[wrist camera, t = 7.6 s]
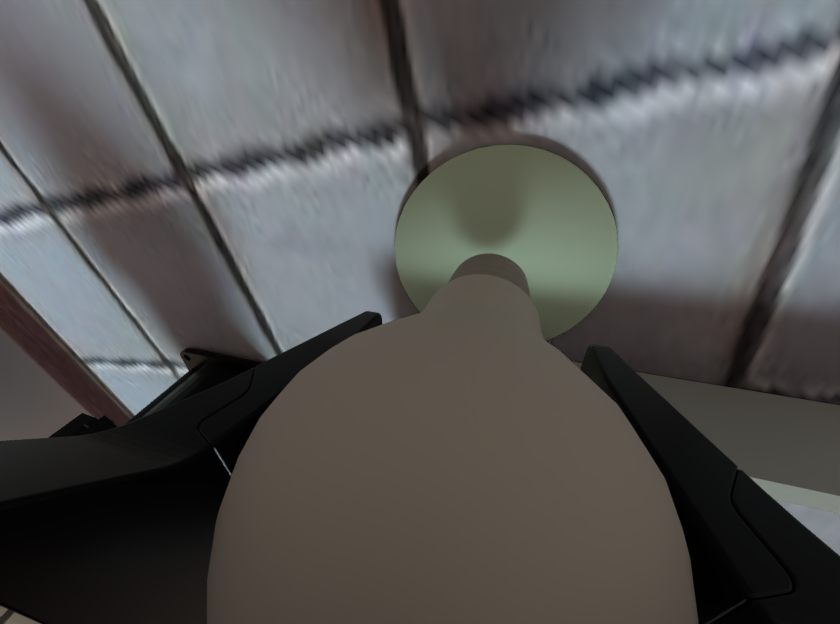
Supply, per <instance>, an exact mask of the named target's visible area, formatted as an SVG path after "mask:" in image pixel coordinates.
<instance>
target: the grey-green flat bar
mask: <svg viewBox="0 0 840 624" xmlns="http://www.w3.org/2000/svg"><path fill="white" fill-rule="evenodd" d="M571 362H572V363H573V364H575V365H576V366H577V367H578V368H579V369H580V368H581V365H582V363H579V362H573V361H571ZM636 373H638V374H639V375H640V376H641V377H642V378H643V379H644V380H645V381H646V382H647V383H648V384H649V385H651V386H652V387H653V388H654V389H655V390H656V391H657V392H658V393H659V394H660V395H661V396H662V397H663V398H665V399H666V400H667V401H668V402H669V403H670V404H671V405H672V406H673V407H674V408H675V409H676V410H678V411H679V412H680V413H681V414H682V415H683V416H684V417H685V418H686V419H687V420H688V421H689V422H690V423H692V424H693V425H694V426H695V427H696V428H697V429H698V430H699V431H700V432H701V433H702V434H703V435H705V436H706V437H707V438H708V439H709V440H710V441H711V442H712V443H713V444H714V445H715V446H716V447H718V448H719V449H720V450H721V451H722V452H723V453H724V454H725V455H726V456H727V457H728V458H729V459H730V460H732V461H733V462H734V463H735V464H736V465H737V467H738V469H740V470H743V471H744V472H745V473H746V474H747V475H748V476H749V477H750V478H751V479H752V480H753V481H754V482H756V483H757V484H758V485H759V486H760V487H761V488H762V489H763V490H764V491H765V492H766V493H768V494H769V495H770V496H771V497H772V498H773V499H775V500H779V501H784V502H788V503H793V504H797V505H801V506H806V507H810V508H815V509H819V510H824V511H828V512H833V513H837V514H840V405H835V404H829V403H823V402H817V401H811V400H805V399H799V398H792V397H786V396H780V395H774V394H768V393H762V392H756V391H750V390H744V389H737V388H731V387H725V386H719V385H713V384H707V383H701V382H695V381H689V380H682V379H676V378H670V377H664V376H658V375H652V374H646V373H640V372H636ZM738 469H737V470H738Z"/></svg>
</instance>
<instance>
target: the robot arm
mask: <svg viewBox="0 0 840 624" xmlns="http://www.w3.org/2000/svg"><path fill="white" fill-rule="evenodd" d="M379 325H382V317H381V315H380V314H379V313H376V312H370V311H366V312H364V313H362V314H360V315H358V316H356V317H354V318H352V319H350V320H348V321H346V322H344V323H341V324H339V325H337V326H335V327H333V328H331V329H329V330H327V331H325V332H323V333H321V334H319V335H317V336H315V337H313V338H311V339H309V340H307V341H305V342H303V343H301V344H299V345H297V346H295V347H293V348H291V349H289V350H287V351H285V352H283V353H281V354H279V355H277V356H275V357H273V358H271V359H269V360H267V361H265V362H263V363H259V362H254V361H249V360H244V359H239V358H235V357H230V356H225V355H220V354H215V353H210V352H206V351H201V350H196V349H191V348H186V349H185V350H184V351H182V352H181V353H180V355H181V357H182V359H183V361H184V363H185V364H186V366H187V368H188V370H189V372H187V373H186V374H185V375H184V376H183V377H181V378H180V379H179V380H178V381H177V382H175V383H174V384H173V385H172V386H170V387H169V388H168V389H167V390H166V391H164V392H163V393H162V394H161V395H160V396H158V397H157V398H156V399H155V400H154V401H152V402H151V403H150V404H149V405H147V406H146V407H145V408H144V409H143V410H141V411H140V412H139V413H138V414H137V415H135V416H134V417H133V418H132V419H131V420H129V421H128V422H127V423H126V424H124V425H122V426H120V427H117V426H116V425H114V424H113V423H114V421H113V420H112V419H110V418H109V417H107V416H106V415H104V416H103V417H101V418H100V419H99V420H98V419H96V418H95V417H91V416H89V415H86V414H83V413H82V414H80V415H79V416H78V417H76V418H75V419H73V420H72V421H71V422H69V423H68V424H66V425H65V426H64V427H62V428H61V429H60V430H58V431H57V432H55V433H54V434H53V435H51V436H50V437H48V438H38V439H23V440H9V441H8V440H7V441H0V624H207V577H208V570H209V564H210V557H211V551H212V544H213V538H214V531H215V525H216V519H217V516H218V512H219V509H220V506H221V503H222V500H223V498H224V495H225V492H226V490H227V487H228V484H229V481H230V479H231V476H232V473H233V470H234V468H235V465H236V462H237V459H238V457H239V455H240V453H241V451H242V450H243V448H244V446H245V444H246V442H247V440H248V439H249V437H250V435H251V433H252V431H253V429H254V427H255V426H256V424H257V422H258V420H259V418H260V417H261V416H262V414H263V413H264V412H265V411H266V410H267V408H268V407H269V406H270V405H271V404H272V402H273V401H274V400H275V399H276V398H277V396H278V395H279V394H280V393H281V392H282V390H283V389H284V388H285V387H286V386H287V385H288V384H289V383H290V381H291V380H292V379H293V378H294V377H295V376H296V375H297V374H298V373H299V372H300V371H301V370H302V369H303V368H305V367H306V366H307V365H309V364H310V363H312V362H313V361H314V360H316V359H317V358H318V357H320V356H321V355H322V354H324V353H325V352H326V351H328V350H329V349H330V348H332V347H334V346H335V345H337V344H339V343H341V342H342V341H344V340H346V339H347V338H349V337H351V336H353V335H354V334H357V333H360V332H363V331H366V330H368V329H371V328H374V327H377V326H379ZM580 370H581V371H582V372H583V373H584V374H585V375H587V376H588V377H589V378H590V379H591V380H592V381H593V382H594V383H595V384H596V385H597V386H598V387H599V388H601V389H602V390H603V391H604V392H605V393H606V394H607V395H608V396H609V397H610V398H611V399H612V400H613V401H614V402H616V403H617V404H618V406H619V407H620V409H621V410H622V412H623V413H624V415H625V416H626V418H627V419H628V421H629V422H630V424H631V425H632V427H633V428H634V430H635V431H636V433H637V435H638V436H639V438H640V439H641V441H642V443H643V444H644V446H645V447H646V449H647V451H648V452H649V454H650V455H651V457H652V459H653V460H654V462H655V463H656V465H657V467H658V468H659V470H660V471H661V473H662V474H663V476H664V478H665V480H666V483H667V485H668V488H669V491H670V494H671V497H672V500H673V503H674V506H675V509H676V511H677V514H678V517H679V520H680V523H681V526H682V529H683V532H684V536H685V540H686V544H687V548H688V552H689V556H690V560H691V568H692V576H693V583H694V591H695V599H696V606H697V614H698V624H840V556H839V555H838V554H837V553H836V552H834V551H833V550H832V549H831V548H830V547H828V546H827V545H826V544H825V543H824V542H823V541H821V540H820V539H819V538H818V537H817V536H816V535H814V534H813V533H812V532H811V531H810V530H808V529H807V528H806V527H805V526H804V525H803V524H801V523H800V522H799V521H798V520H797V519H796V518H794V517H793V516H792V515H791V514H790V513H789V512H788V511H787V510H785V509H784V508H783V507H782V506H781V505H780V504H779V503H778V502H777V501H775V500H774V499H773V498H772V497H771V496H770V495H769V494H768V493H766V492H765V491H764V490H763V489H762V488H761V487H760V486H759V485H758V484H757V483H756V482H754V481H753V480H752V479H751V478H750V477H749V476H748V475H747V474H746V473H745V472H744V471H743V470H740V469H738V467H737V465H736V464H735V463H734V462H733V461H732V460H730V459H729V458H728V457H727V456H726V455H725V454H724V453H723V452H722V451H721V450H720V449H719V448H718V447H716V446H715V445H714V444H713V443H712V442H711V441H710V440H709V439H708V438H707V437H706V436H705V435H703V434H702V433H701V432H700V431H699V430H698V429H697V428H696V427H695V426H694V425H693V424H692V423H690V422H689V421H688V420H687V419H686V418H685V417H684V416H683V415H682V414H681V413H680V412H679V411H678V410H676V409H675V408H674V407H673V406H672V405H671V404H670V403H669V402H668V401H667V400H666V399H665V398H663V397H662V396H661V395H660V394H659V393H658V392H657V391H656V390H655V389H654V388H653V387H652V386H651V385H649V384H648V383H647V382H646V381H645V380H644V379H643V378H642V377H641V376H640V375H639V374H638V373H636V372H635V371H634V370H633V369H632V368H631V367H630V366H629V365H628V364H627V363H626V362H625V361H623V360H622V359H621V358H620V357H619V356H618V355H617V354H616V353H615V352H614V351H613V350H612V349H610V348H609V347H606V346H599V345H590V346H589V347H588V349H587V351H586V354H585V357H584V360H583V363H582V365H581V368H580ZM737 469H738V470H737Z"/></svg>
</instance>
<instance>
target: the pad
mask: <svg viewBox="0 0 840 624" xmlns="http://www.w3.org/2000/svg"><path fill="white" fill-rule="evenodd" d="M485 253H487V254H498V255H502V256H504V257H507V258H509V259H511V260H512V261H514V262H515V263H516V264H517V265H518V266H519V267H520V268H521V269H522V270H523V272H524V273H525V276H526V278H527V282H528V287H529V291H530V299H531V301H532V302H533V304H534V305H535V307H536V309H537V312H538V314H539V317H540V324H541V331H542V334H543V337H544V339H545V341H547V340H549V339H551V338H554V337H556V336H559V335H560V334H562V333H564V332H566V331H567V330H569V329H571V328H572V327H574V326H575V325H576V324H578V323H579V322H580V321H582V320H583V319H584V318H585V317H586V316H587V315H588V314H589V313H590V312H591V311H592V310H593V309H594V307H595V306H596V305H597V304H598V303H599V301H600V300H601V298H602V297H603V295H604V293H605V292H606V290H607V288H608V286H609V284H610V282H611V279H612V277H613V274H614V270H615V266H616V263H617V254H618V236H617V229H616V225H615V220H614V217H613V214H612V212H611V209H610V207H609V204H608V203H607V201H606V199H605V198H604V196H603V194H602V193H601V191H600V190H599V188H598V187H597V186H596V185H595V183H594V182H593V181H592V180H591V179H590V178H589V176H588V175H586V174H585V173H584V172H583V171H582V170H580V169H579V168H578V167H577V166H576V165H574V164H573V163H571V162H569V161H568V160H566V159H564V158H563V157H561V156H559V155H556V154H554V153H551V152H549V151H546V150H543V149H539V148H535V147H531V146H524V145H514V144H506V145H492V146H487V147H482V148H477V149H474V150H471V151H468V152H465V153H462V154H460V155H458V156H456V157H454V158H452V159H450V160H448V161H447V162H445V163H444V164H442V165H441V166H440V167H438V168H437V169H435V170H434V171H433V172H432V173H431V174H430V175H428V176H427V177H426V178H425V179H424V180H423V181H422V182H421V183H420V184H419V186H418V187H417V188H416V189H415V190H414V192H413V193H412V195H411V196H410V198H409V200H408V201H407V203H406V204H405V207H404V209H403V211H402V213H401V216H400V219H399V222H398V226H397V230H396V237H395V259H396V266H397V270H398V274H399V278H400V280H401V283H402V285H403V288H404V289H405V291H406V293H407V295H408V297H409V298H410V300H411V301H412V302H413V304H414V305H415V307H416V308H417V309H418V310H419V311H420V312H422V311H423V310H424V309H425V308H426V306H427V305H428V303H429V301H430V300H431V298H432V297H433V296H434V294H435V293H436V292H437V291H438V290H439V289H440V288H441V287H442V286H444V285H445V284H447V283H448V282H449V280H450V279H451V276H452V275H453V273H454V272H455V271H456V269H457V268H458V266H459V265H460V264H461V263H463V262H464V261H465V260H467V259H468V258H470V257H473V256H475V255H479V254H485Z"/></svg>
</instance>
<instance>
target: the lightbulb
mask: <svg viewBox="0 0 840 624" xmlns="http://www.w3.org/2000/svg"><path fill="white" fill-rule="evenodd" d="M207 624H698V614H697V606H696V599H695V591H694V583H693V576H692V568H691V560H690V556H689V552H688V548H687V544H686V540H685V536H684V532H683V529H682V526H681V523H680V520H679V517H678V514H677V511H676V509H675V506H674V503H673V500H672V497H671V494H670V491H669V488H668V485H667V483H666V480H665V478H664V476H663V474H662V473H661V471H660V470H659V468H658V467H657V465H656V463H655V462H654V460H653V459H652V457H651V455H650V454H649V452H648V451H647V449H646V447H645V446H644V444H643V443H642V441H641V439H640V438H639V436H638V435H637V433H636V431H635V430H634V428H633V427H632V425H631V424H630V422H629V421H628V419H627V418H626V416H625V415H624V413H623V412H622V410H621V409H620V407H619V406H618V404H617V403H616V402H614V401H613V400H612V399H611V398H610V397H609V396H608V395H607V394H606V393H605V392H604V391H603V390H602V389H601V388H599V387H598V386H597V385H596V384H595V383H594V382H593V381H592V380H591V379H590V378H589V377H588V376H587V375H585V374H584V373H583V372H582V371H581V370H580V369H579V368H578V367H577V366H576V365H575V364H573V363H572V362H571V361H570V360H569V359H568V358H567V357H566V356H565V355H564V354H563V353H562V352H560V351H559V350H558V349H557V348H555V347H554V346H552V345H551V344H549V343H548V342H546V341H545V339H544V337H543V334H542V331H541V324H540V317H539V314H538V312H537V309H536V307H535V305H534V304H533V302H532V301H531V299H530V291H529V287H528V282H527V278H526V276H525V273H524V272H523V270H522V269H521V268H520V267H519V266H518V265H517V264H516V263H515V262H514V261H512V260H511V259H509V258H507V257H504V256H502V255H498V254H487V253H485V254H479V255H475V256H473V257H470V258H468V259H467V260H465V261H464V262H463V263H461V264H460V265H459V266H458V268H457V269H456V271H455V272H454V273H453V275H452V276H451V279H450V280H449V282H448V283H447V284H445V285H444V286H442V287H441V288H440V289H439V290H438V291H437V292H436V293H435V294H434V296H433V297H432V298H431V300H430V301H429V303H428V305H427V306H426V308H425V309H424V310H423V311H422V312H421V313H419V314H414V315H411V316H407V317H404V318H401V319H397V320H394V321H391V322H388V323H385V324H382V325H379V326H377V327H374V328H371V329H368V330H366V331H363V332H360V333H357V334H354V335H353V336H351V337H349V338H347V339H346V340H344V341H342V342H341V343H339V344H337V345H335V346H334V347H332V348H330V349H329V350H328V351H326V352H325V353H324V354H322V355H321V356H320V357H318V358H317V359H316V360H314V361H313V362H312V363H310V364H309V365H307V366H306V367H305V368H303V369H302V370H301V371H300V372H299V373H298V374H297V375H296V376H295V377H294V378H293V379H292V380H291V381H290V383H289V384H288V385H287V386H286V387H285V388H284V389H283V390H282V392H281V393H280V394H279V395H278V396H277V398H276V399H275V400H274V401H273V402H272V404H271V405H270V406H269V407H268V408H267V410H266V411H265V412H264V413H263V414H262V416H261V417H260V418H259V420H258V422H257V424H256V426H255V427H254V429H253V431H252V433H251V435H250V437H249V439H248V440H247V442H246V444H245V446H244V448H243V450H242V451H241V453H240V455H239V457H238V459H237V462H236V465H235V468H234V470H233V473H232V476H231V479H230V481H229V484H228V487H227V490H226V492H225V495H224V498H223V500H222V503H221V506H220V509H219V512H218V516H217V519H216V525H215V531H214V538H213V544H212V551H211V557H210V564H209V570H208V577H207Z"/></svg>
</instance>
